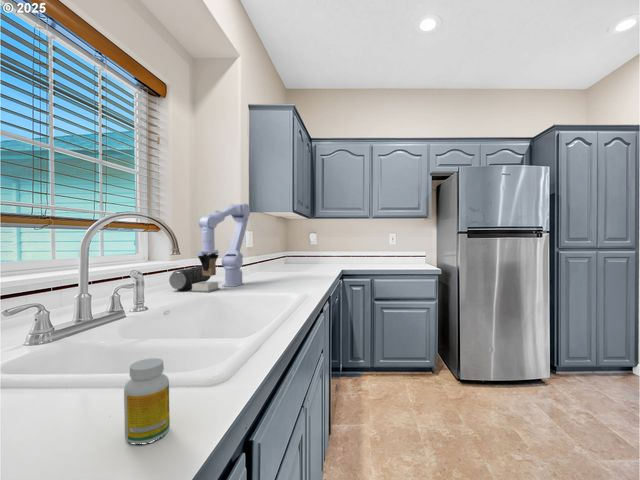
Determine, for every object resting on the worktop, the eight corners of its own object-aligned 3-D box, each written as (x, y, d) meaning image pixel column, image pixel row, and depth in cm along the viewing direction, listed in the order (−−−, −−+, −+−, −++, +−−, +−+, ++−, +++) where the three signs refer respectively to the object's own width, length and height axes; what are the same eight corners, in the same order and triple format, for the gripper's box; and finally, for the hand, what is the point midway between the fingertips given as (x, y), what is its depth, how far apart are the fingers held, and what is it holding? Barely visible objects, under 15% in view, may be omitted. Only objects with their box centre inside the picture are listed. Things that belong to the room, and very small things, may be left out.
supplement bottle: (119, 435, 45) (117, 364, 45) (160, 419, 49) (159, 353, 49) (133, 452, 42) (131, 375, 41) (176, 433, 46) (175, 362, 45)
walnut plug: (207, 274, 165) (207, 256, 165) (215, 274, 164) (215, 256, 164) (202, 275, 161) (202, 256, 161) (210, 275, 160) (210, 256, 160)
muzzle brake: (211, 283, 187) (211, 265, 187) (187, 292, 159) (186, 270, 159) (195, 283, 188) (195, 265, 188) (167, 292, 160) (167, 270, 160)
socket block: (202, 288, 170) (202, 281, 169) (220, 289, 167) (220, 281, 167) (189, 291, 160) (189, 284, 160) (208, 292, 157) (208, 284, 157)
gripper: (207, 242, 154) (207, 271, 155) (223, 241, 169) (224, 268, 169) (193, 242, 156) (194, 271, 156) (211, 241, 170) (211, 268, 170)
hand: (208, 270), depth 163 cm, fingers closed on walnut plug, 4 cm apart
